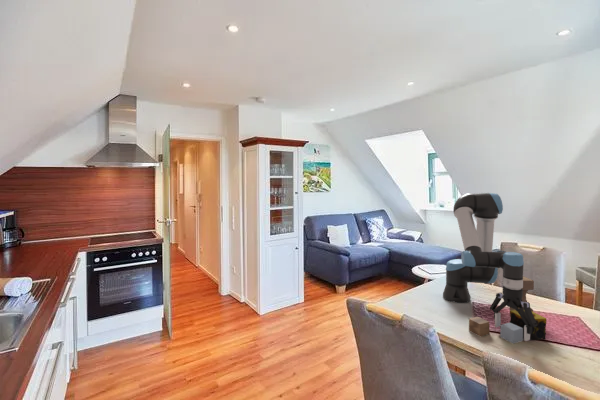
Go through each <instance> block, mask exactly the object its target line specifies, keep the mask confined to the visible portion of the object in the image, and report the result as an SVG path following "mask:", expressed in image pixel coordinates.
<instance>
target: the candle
mask: <svg viewBox="0 0 600 400" xmlns="http://www.w3.org/2000/svg"><path fill="white" fill-rule="evenodd" d="M532 313H533V316H534V318H535V320H536V323H537V326H536V327H532V334H530V340H529V341H540V340H546V329H547V328H546V327H547V318H546V317H544V316H543V315H540V314H538V313H536V312H534V310H533V311H532ZM509 316H510V317H509V318H510V319H509V323H512V324H515V325H517V326H519V327H521V328H523V340H524V326H525V325H526V324H525V323H524V321H523V319H522V318H521V316H520V315H519V313H518V312H517V311H516V310H510V309H509Z"/></svg>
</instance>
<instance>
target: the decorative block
mask: <svg viewBox="0 0 600 400" xmlns="http://www.w3.org/2000/svg"><path fill="white" fill-rule="evenodd" d="M534 284H535V281H534V279H533V280H532V279H531V278H529V277H526V276H524V275H523V288H522V289H523V297H522V301H523V302H528V300H527V292H528V291H533V290H534V289H535V288H534V287H535V285H534ZM522 306H523V305H522ZM518 309H520V308H518ZM530 309H531V311H533V312H534V309H533V308H532V307H530ZM510 310H515V309H513V308H511V307H509V311H510Z"/></svg>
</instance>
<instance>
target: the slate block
mask: <svg viewBox="0 0 600 400" xmlns="http://www.w3.org/2000/svg"><path fill="white" fill-rule="evenodd" d="M499 337H500V338H501V339H503V340H505V341H507V342H509V343H511V344H517V343H520V342H523V341H524V339H523V328H521V327H519V326H517V325H515V324H512V323H510V322H506V323H502V324H500V336H499Z"/></svg>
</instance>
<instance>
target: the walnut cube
mask: <svg viewBox="0 0 600 400" xmlns="http://www.w3.org/2000/svg"><path fill="white" fill-rule="evenodd" d="M490 328H491V327H490V321H488V320H487V319H484V318H482V317H480V316H475V317H471V318H468V331H469V332H470V333H472V334H474V335H476V336H478V337H484V336H487V335H490Z"/></svg>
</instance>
